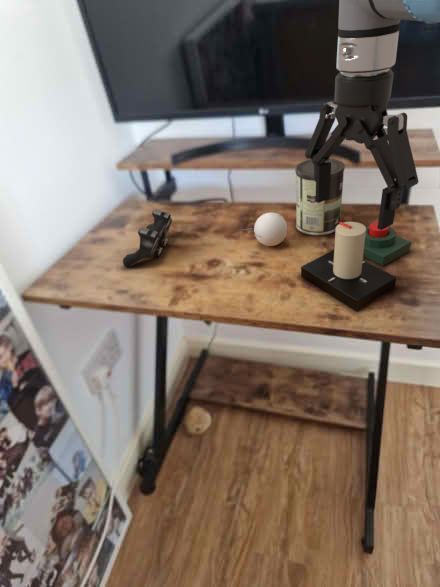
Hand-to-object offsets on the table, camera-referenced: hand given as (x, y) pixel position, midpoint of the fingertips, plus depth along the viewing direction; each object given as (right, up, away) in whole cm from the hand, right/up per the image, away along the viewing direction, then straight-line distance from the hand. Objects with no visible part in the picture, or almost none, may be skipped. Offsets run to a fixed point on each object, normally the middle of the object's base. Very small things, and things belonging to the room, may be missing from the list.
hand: (351, 212), depth 68 cm
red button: (+10, -2, +14) cm, 17 cm away
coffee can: (+1, +2, +27) cm, 27 cm away
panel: (+2, -12, +9) cm, 15 cm away
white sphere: (-12, -2, +23) cm, 26 cm away
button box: (+10, -4, +16) cm, 20 cm away
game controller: (-38, -4, +27) cm, 47 cm away
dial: (+2, -10, +7) cm, 12 cm away
